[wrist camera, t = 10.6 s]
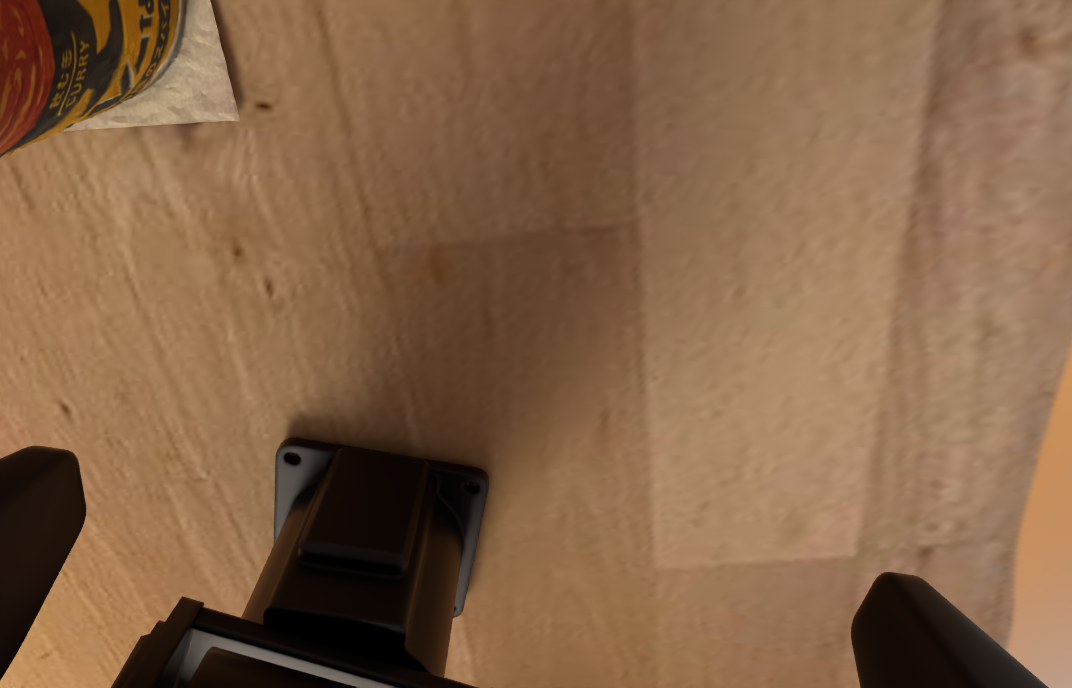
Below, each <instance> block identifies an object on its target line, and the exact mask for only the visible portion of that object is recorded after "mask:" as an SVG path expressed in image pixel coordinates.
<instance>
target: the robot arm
mask: <svg viewBox="0 0 1072 688" xmlns="http://www.w3.org/2000/svg"><path fill="white" fill-rule="evenodd" d="M289 452H294V453H296V454H298V455H299V456H300V457H294V456H292V455H291V454H290V453H289ZM468 482H475V483H477V484H478V485H477V486H471V485H468V484H467V483H468ZM488 486H489V477H488V475H487V474H486V472H484V471H483V470H482V469H479V468H476V467H470V466H464V465H458V464H452V463H446V462H440V461H434V460H428V459H422V458H416V457H410V456H404V455H398V454H392V453H386V452H380V451H374V450H368V449H362V448H356V447H350V446H343V445H337V444H331V443H325V442H319V441H313V440H307V439H301V438H288V439H285V440H284V441H283V442H282V443H281V445H280V447H279V449H278V450H277V453H276V465H275V515H274V546H273V549H272V551H271V553H270V555H269V557H268V560H267V562H266V564H265V566H264V568H263V571H262V573H261V575H260V577H259V580H258V582H257V584H256V586H255V588H254V591H253V593H252V595H251V597H250V599H249V602H248V604H247V606H246V608H245V611H244V613H243V615H242V617H241V618H240V617H236V616H233V615H229V614H226V613H223V612H219V611H216V610H212V609H209V608H206V607H203V606H204V603H203V602H200V601H196V600H193V599H189V598H186V597H183V596H182V598H181V599H180V601H179V602H178V604H177V605H176V607H175V608H174V610H173V611H172V612H171V614H170V615H169V617H168V618H167V620H166V621H165V622H163V621H160V620H159V621H158V623H157V624H156V625H155V627H154V628H153V630H152V631H151V633H150V634H147V635H144V636H141V637H140V639H139V641H138V642H137V644H136V646H135V647H134V649H133V651H132V653H131V654H130V656H129V658H128V659H127V661H126V663H125V665H124V666H123V668H122V670H121V672H120V673H119V675H118V677H117V678H116V680H115V681H114V683H113V685H112V686H111V688H478V687H474V686H471V685H468V684H464V683H461V682H457V681H454V680H451V679H447V678H444V674H445V667H446V661H447V654H448V647H449V640H450V634H451V627H452V620H453V618H454V617H458V616H459V615H460V614H461V613H462V611H463V608H464V603H465V598H466V593H467V589H468V584H469V579H470V574H471V569H472V565H473V560H474V555H475V550H476V546H477V541H478V536H479V531H480V526H481V522H482V517H483V512H484V507H485V503H486V498H487V493H488ZM85 517H86V503H85V497H84V491H83V485H82V479H81V474H80V468H79V462H78V459H77V457H76V456H75V454H74V453H73V452H71V451H69V450H65V449H58V448H51V447H44V446H30V447H27V448H24V449H21V450H19V451H17V452H15V453H12V454H10V455H8V456H6V457H3V458H1V459H0V680H1V678H2V677H3V675H4V674H5V672H6V670H7V669H8V667H9V666H10V664H11V662H12V661H13V659H14V657H15V656H16V654H17V652H18V650H19V648H20V647H21V645H22V643H23V641H24V639H25V637H26V636H27V634H28V632H29V630H30V628H31V626H32V624H33V622H34V620H35V618H36V616H37V614H38V612H39V611H40V609H41V607H42V605H43V603H44V601H45V599H46V597H47V595H48V593H49V591H50V589H51V588H52V586H53V584H54V582H55V580H56V578H57V576H58V574H59V572H60V570H61V568H62V566H63V564H64V563H65V561H66V559H67V557H68V555H69V553H70V551H71V549H72V547H73V545H74V543H75V541H76V539H77V538H78V536H79V534H80V532H81V530H82V527H83V524H84V521H85ZM851 639H852V645H853V651H854V656H855V661H856V666H857V671H858V677H859V682H860V687H861V688H1048V687H1047V686H1046V685H1045V684H1044V683H1043V682H1041V681H1040V680H1039V679H1038V678H1037V677H1036V676H1034V675H1033V674H1032V673H1031V672H1030V671H1029V670H1027V669H1026V668H1025V667H1024V666H1023V665H1022V664H1020V663H1019V662H1018V661H1017V660H1016V659H1015V658H1014V657H1012V656H1011V655H1010V654H1009V653H1008V652H1007V651H1006V650H1004V649H1003V648H1002V647H1001V646H1000V645H999V644H997V643H996V642H995V641H994V640H993V639H992V638H991V637H989V636H988V635H987V634H986V633H985V632H984V631H982V630H981V629H980V628H979V627H978V626H977V625H975V624H974V623H973V622H972V621H971V620H970V619H969V618H967V617H966V616H965V615H964V614H963V613H962V612H960V611H959V610H958V609H957V608H956V607H955V606H954V605H952V604H951V603H950V602H949V601H948V600H947V599H945V598H944V597H943V596H942V595H941V594H940V593H938V592H937V591H936V590H935V589H934V588H933V587H932V586H930V585H929V584H928V583H927V582H926V581H924V580H923V579H921V578H920V577H917V576H914V575H907V574H900V573H894V572H884V573H882V574H881V575H879V576H878V577H877V578H876V580H875V581H874V583H873V585H872V586H871V588H870V590H869V592H868V593H867V595H866V597H865V599H864V600H863V602H862V604H861V606H860V607H859V609H858V611H857V612H856V614H855V616H854V619H853V622H852V627H851Z"/></svg>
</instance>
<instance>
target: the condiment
mask: <svg viewBox="0 0 1072 688" xmlns="http://www.w3.org/2000/svg"><path fill="white" fill-rule="evenodd" d="M211 121H240V119H239V115H238V110H237V106H236V101H235V99H234V95H233V90H232V87H231V83H230V79H229V76H228V72H227V65H226V61H225V58H224V55H223V51H222V48H221V44H220V38H219V33H218V29H217V25H216V22H215V17H214V13H213V9H212V5H211V2H210V0H0V157H2V156H4V155H10V154H11V153H13V152H14V151H15V150H17V149H19V148H24V147H26V146H27V145H29V144H31V143H34V142H37V141H40V140H42V139H45V138H46V137H48V136H49V135H50V134H52V133H59V132H62V131H74V130H87V129H100V128H121V127H133V126H150V125H163V124H185V123H195V122H211Z"/></svg>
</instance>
